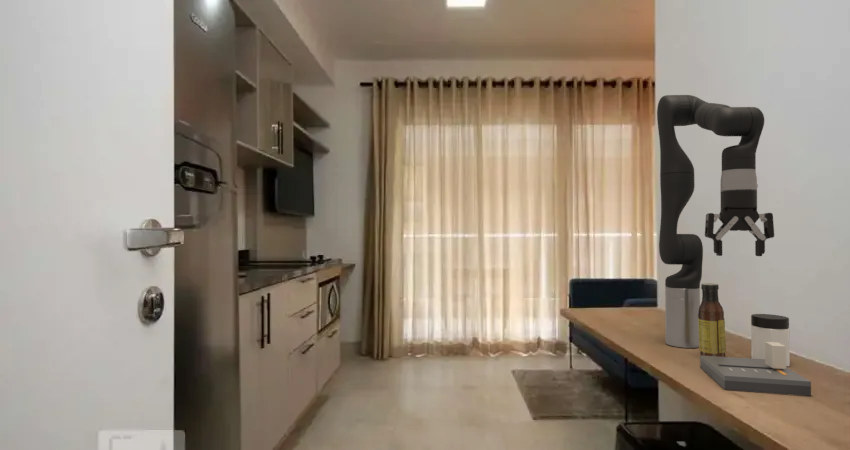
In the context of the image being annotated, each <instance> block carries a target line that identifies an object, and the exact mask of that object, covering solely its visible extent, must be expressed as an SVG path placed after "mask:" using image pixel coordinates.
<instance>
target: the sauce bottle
mask: <svg viewBox="0 0 850 450" xmlns="http://www.w3.org/2000/svg"><path fill="white" fill-rule="evenodd" d="M719 289H720V287H719V284H718V283H711V282H708V283H707V282H704V283H700V290H701V291H702V292H701V294H702V298H701V301H700V307H699V312H698V324H699V347H698V349H699V351H700V355H701V356H718V357H727V356H726V353H727V345H726V341H727V340H726V325H725V323H726V321H725V317H724V316H725V315H724V314H725V312H724V308H723V306H722V304H721V303H720V301H719V300H720V299H719Z"/></svg>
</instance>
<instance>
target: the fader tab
mask: <svg viewBox="0 0 850 450" xmlns="http://www.w3.org/2000/svg"><path fill="white" fill-rule="evenodd" d="M765 364H767V365H768V366H770V367H772V368H773V370H778V369H786V346H784V345H782V344H780V343H778V342H765Z"/></svg>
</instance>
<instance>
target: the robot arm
mask: <svg viewBox="0 0 850 450" xmlns="http://www.w3.org/2000/svg"><path fill="white" fill-rule="evenodd" d="M656 117H657V118H656V119H657V129H658V131H657V132H658V138H659V139H658V140H659V150H660V151H659V152H660V155H659V156H660V157H659V158H660V165H659V167H660V170H659V171H660V173H659V174H660V175H659V177H660V178H659V179H660V183H659V185H660V224H659V225H660V226H659V241H658V252H659V257H660V260H661V261H662V263H664V264H665V265H673V266H674V265H675V266H676V265H677V266H678V265H681V269H680V270H678V271H677V272H676V273H674V274H672V275H671V274H670V275H668V276H667V277H665V284H664V285H665V287H664V288H665V289H664V290H665V291H664V293H665V294H664V295H665V302H664V303H665V304H664V305H665V307H664V308H665V312H664V313H665V317H664V318H665V325H664V326H665V329H664V330H665V333H664V334H665V335H664V336H665V338H664V339H665V342H664V343H665V344H666V345H668V346H672V347H677V348H685V349H694V348H695V349H696V348H697V349H698V348H699V324H698V312H699V307H700V305H701V281H702V278H703V277H702V276H703V259H704V258H703V257H704V246H703V242H702V239H701V237H700V236H699V235H697V234H695V233H678V224H679V219H680V216H681V214H682V212H683V210H684V209H685V207H686V205H688V203H689V201H690V200H691V198H692V196H693V194H694V193H695V192H694V191H695V167H694V165H693V163H692V161H691V159H690V158H689V156H688V155H687V153H686V152H685V151H684V150H683V148H682V147H681V145H680V143H679V141H678V139H677V135H676V130H675V127H686V126H692V125H697V126H698V127H700V128H701V129H703V130H706V131H707V130H708V131H711V132H712V133H714V134H715V135H717V136H720V137H740V141H739V142H738V144H736V145H730V146H727V147H725V148H723V150H721V151H722V152H721V176H720V212H719V213H712V212H710V213H709V212H708V213H706V215H705V224H704V225H705V226H704V237H705V238H708V239H711V240H712V242H713V252H714V254H715V255H716V256H719V257H722V256H723V240H722V238H723V237H724V236H726V234H727V233H729V231H730V232H736V231H740V232H741V231H742V232H745V231H747V232H749V233H750V234H751V235H752V236H753V237H754V238H755V239H756V240H755V243H754V244H755V247H754V248H755V249H754V250H755V252H754V253H755V256H756V257H762V256H763V255H764V254H765V252H766V241H767V240H769V239H773V238H774V237H775V227H774V225H775V224H774V215H773V213H772V212H765V213H759V212H758V186H759V185H758V178H757V177H758V176H757V171H756V168H757V167H756V161H757V160H756V154H757V149H758V145H759V143H760V138H761V136H762V131H763V129H764V125H765V115H764V113H763V112H762V110H761V109H760V108H759V107H755V106H729V105H728V104H723V103H712V102H707V101H705V100H703V99H701V98H700V97H697V96H695V95H692V94H691V95H690V94H671V95H670V94H667V95H662V96H661V98H660V99H659V100H658V104H657V109H656ZM718 219H719V221H720V222H721V223H722V225H720V227H719V228H718V229H717V231H716V232H715V233H714V228H715V227H714V226H715V223H716V222H717V221H718ZM758 220H760V222H761V223H763V232H762V230H761V229H760V228H759V227H758V225H757V224H756V223H757V222H758Z"/></svg>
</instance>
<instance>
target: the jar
mask: <svg viewBox="0 0 850 450" xmlns="http://www.w3.org/2000/svg"><path fill="white" fill-rule="evenodd" d="M750 324H751V326H750V327H751V328H750V330H751V331H750V332H751V335H750V336H751V337H750V339H751V340H750V342H751V343H750V344H751V345H750V347H751V349H750V350H751V353H750V354H751V356H750V358H751V359H765V342H778V343H780V344H782V345H784V346H786V367H787V368H789V367H790V360H791V359H790V329H789V328H790V318H789V317H788V316H785V315H778V314H777V315H776V314H769V313H754V314H751V315H750Z"/></svg>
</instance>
